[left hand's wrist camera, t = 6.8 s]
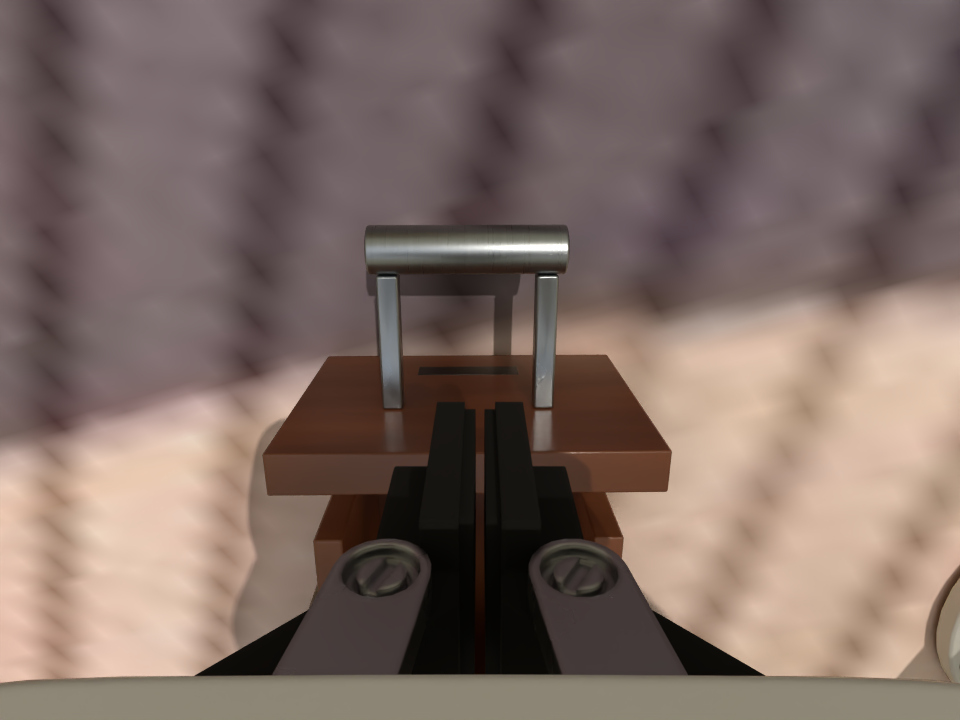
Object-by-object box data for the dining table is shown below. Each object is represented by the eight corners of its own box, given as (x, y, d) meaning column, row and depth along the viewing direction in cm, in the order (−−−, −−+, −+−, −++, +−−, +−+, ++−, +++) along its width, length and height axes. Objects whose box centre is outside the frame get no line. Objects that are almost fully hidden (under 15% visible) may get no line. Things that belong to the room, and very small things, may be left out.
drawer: (316, 209, 21) (235, 241, 14) (617, 208, 22) (695, 240, 14) (360, 758, 29) (324, 965, 22) (580, 754, 30) (617, 958, 22)
